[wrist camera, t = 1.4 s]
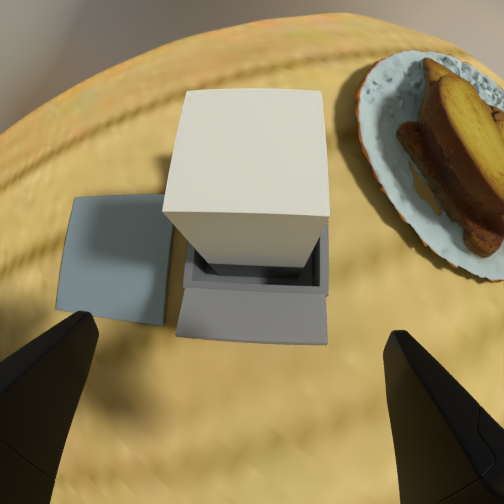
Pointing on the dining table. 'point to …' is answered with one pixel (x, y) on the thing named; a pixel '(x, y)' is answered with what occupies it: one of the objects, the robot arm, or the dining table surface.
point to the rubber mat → (117, 258)
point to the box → (250, 179)
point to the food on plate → (439, 152)
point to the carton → (256, 303)
